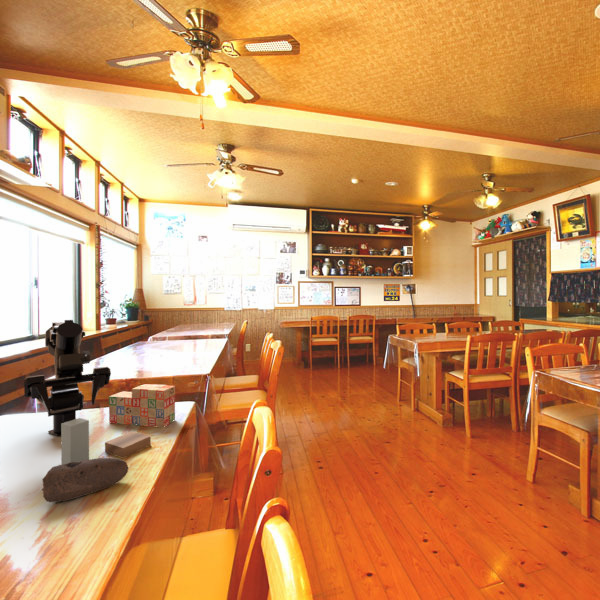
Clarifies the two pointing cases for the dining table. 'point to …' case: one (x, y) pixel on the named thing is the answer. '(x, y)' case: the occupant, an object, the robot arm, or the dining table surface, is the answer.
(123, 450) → the base block
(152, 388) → the stack of blocks
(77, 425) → the column
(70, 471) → the perforated stone tool
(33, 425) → the dining table surface
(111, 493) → the dining table surface
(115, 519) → the dining table surface
